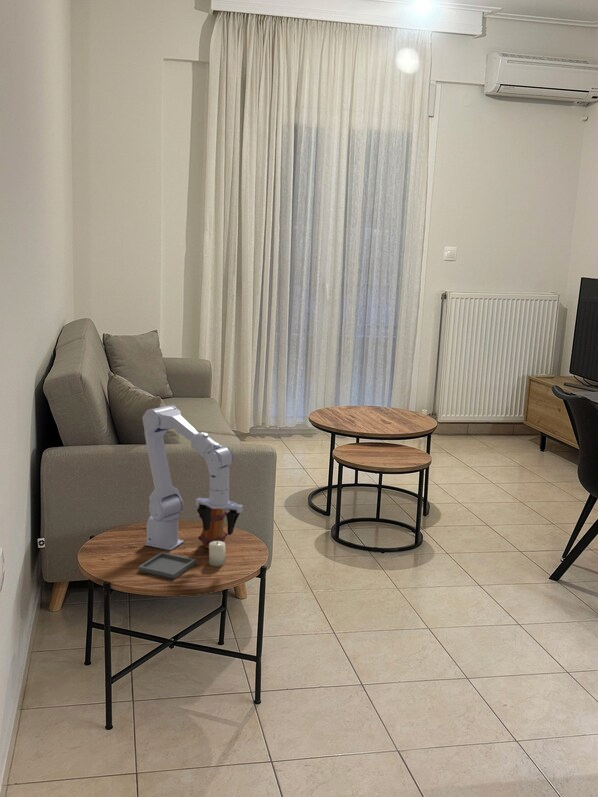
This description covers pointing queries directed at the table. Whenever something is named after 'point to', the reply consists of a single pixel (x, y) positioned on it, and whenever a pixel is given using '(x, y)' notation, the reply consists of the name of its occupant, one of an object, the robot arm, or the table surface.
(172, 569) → the tray
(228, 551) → the table surface
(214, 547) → the candle
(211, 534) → the mug
